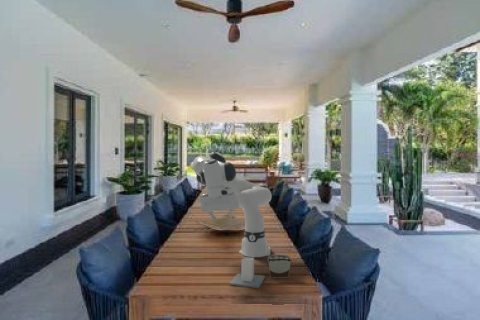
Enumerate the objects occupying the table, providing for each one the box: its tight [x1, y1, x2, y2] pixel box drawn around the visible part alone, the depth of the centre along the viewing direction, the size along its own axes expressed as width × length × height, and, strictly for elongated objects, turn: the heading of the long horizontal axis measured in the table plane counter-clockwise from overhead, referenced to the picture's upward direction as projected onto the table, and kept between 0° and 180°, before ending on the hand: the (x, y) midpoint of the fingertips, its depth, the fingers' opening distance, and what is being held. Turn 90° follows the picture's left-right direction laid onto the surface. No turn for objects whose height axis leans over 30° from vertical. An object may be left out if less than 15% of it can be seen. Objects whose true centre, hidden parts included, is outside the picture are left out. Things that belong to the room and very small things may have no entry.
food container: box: [267, 254, 293, 279], centre depth 208 cm, size 12×6×10 cm, turn 92°
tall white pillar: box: [240, 256, 255, 282], centre depth 200 cm, size 5×5×10 cm
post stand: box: [229, 272, 266, 289], centre depth 200 cm, size 14×14×8 cm
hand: (222, 219), depth 206 cm, fingers open, 8 cm apart
